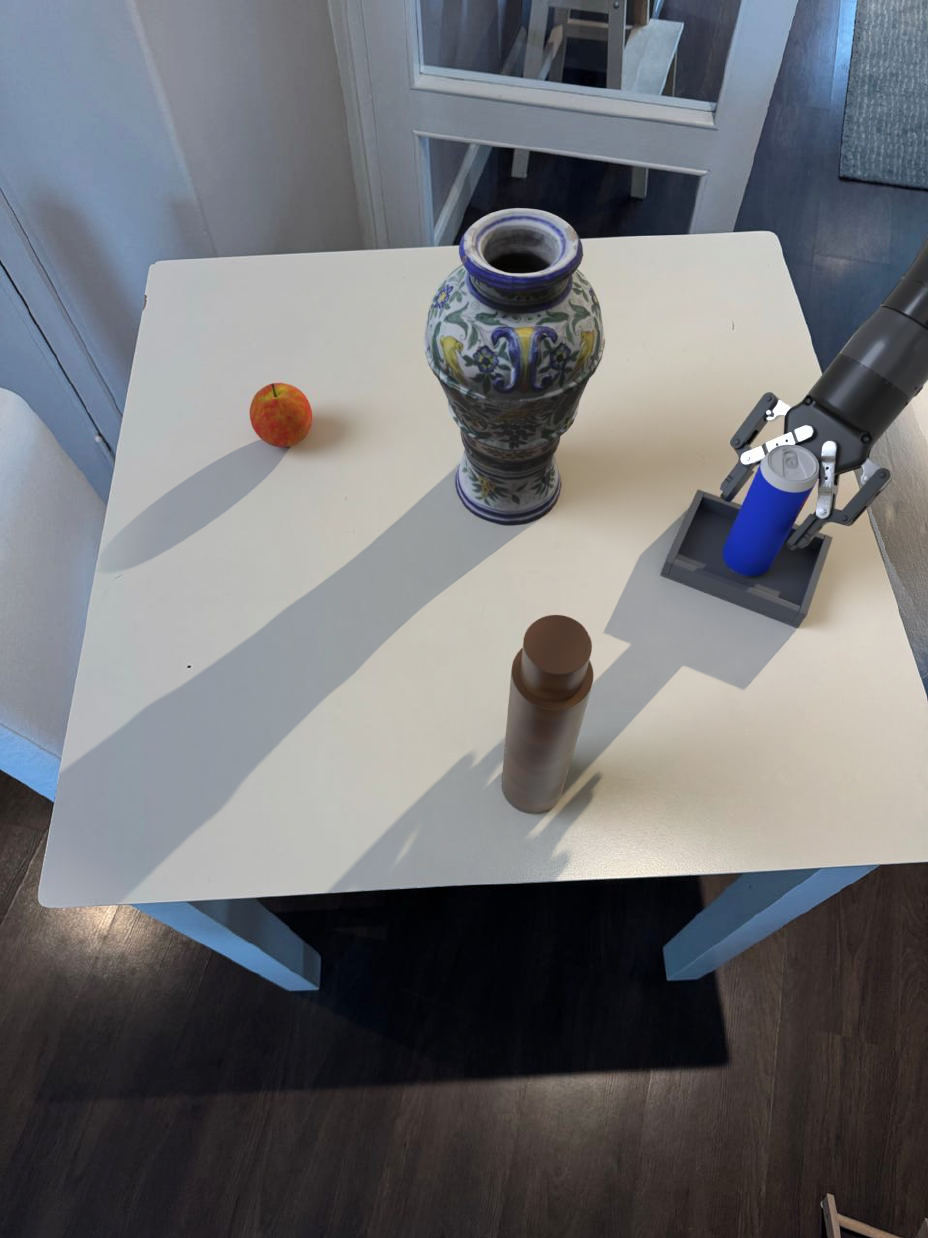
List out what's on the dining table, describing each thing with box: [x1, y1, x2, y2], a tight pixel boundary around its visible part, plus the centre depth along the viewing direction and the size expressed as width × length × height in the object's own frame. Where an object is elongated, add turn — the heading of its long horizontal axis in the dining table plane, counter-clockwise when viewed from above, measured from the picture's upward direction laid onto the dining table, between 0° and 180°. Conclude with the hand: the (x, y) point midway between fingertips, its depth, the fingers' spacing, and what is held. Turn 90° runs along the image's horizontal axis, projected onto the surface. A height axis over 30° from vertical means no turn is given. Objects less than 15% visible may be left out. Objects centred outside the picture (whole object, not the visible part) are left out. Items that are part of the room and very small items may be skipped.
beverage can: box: [722, 444, 819, 577], centre depth 81 cm, size 5×5×15 cm
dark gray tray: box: [660, 488, 834, 629], centre depth 87 cm, size 15×11×3 cm
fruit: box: [249, 382, 313, 448], centre depth 94 cm, size 7×7×8 cm
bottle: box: [501, 614, 594, 815], centre depth 65 cm, size 6×6×26 cm
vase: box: [423, 207, 606, 526], centre depth 81 cm, size 17×17×30 cm
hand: (756, 523), depth 81 cm, fingers open, 7 cm apart
